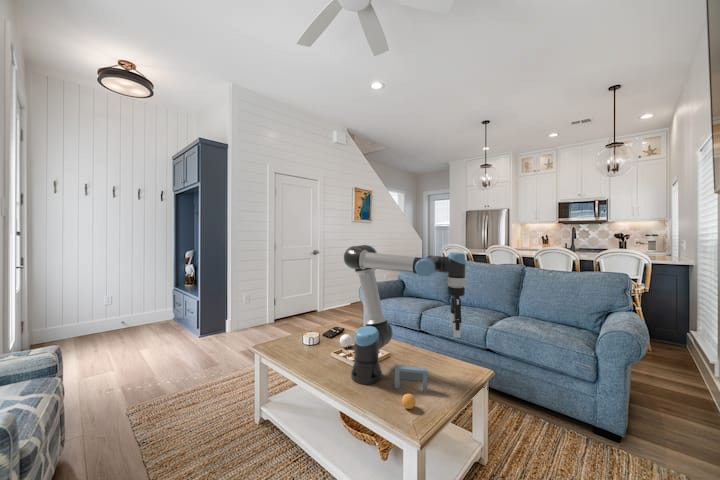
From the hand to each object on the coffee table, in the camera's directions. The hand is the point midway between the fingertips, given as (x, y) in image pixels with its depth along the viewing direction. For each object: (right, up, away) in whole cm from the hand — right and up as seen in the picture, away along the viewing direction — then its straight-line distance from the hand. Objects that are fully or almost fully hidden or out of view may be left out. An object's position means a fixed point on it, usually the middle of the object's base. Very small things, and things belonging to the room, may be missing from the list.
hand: (455, 331), depth 143 cm
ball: (-24, -23, -18) cm, 38 cm away
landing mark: (-18, -24, +12) cm, 32 cm away
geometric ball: (-53, -23, +47) cm, 74 cm away
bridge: (-21, -25, -2) cm, 32 cm away
